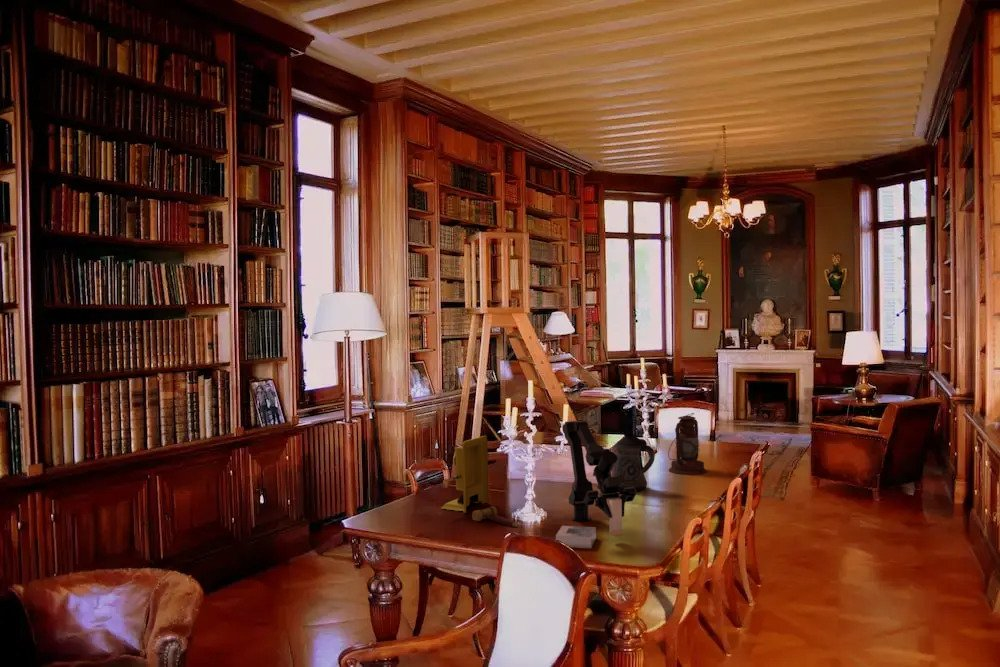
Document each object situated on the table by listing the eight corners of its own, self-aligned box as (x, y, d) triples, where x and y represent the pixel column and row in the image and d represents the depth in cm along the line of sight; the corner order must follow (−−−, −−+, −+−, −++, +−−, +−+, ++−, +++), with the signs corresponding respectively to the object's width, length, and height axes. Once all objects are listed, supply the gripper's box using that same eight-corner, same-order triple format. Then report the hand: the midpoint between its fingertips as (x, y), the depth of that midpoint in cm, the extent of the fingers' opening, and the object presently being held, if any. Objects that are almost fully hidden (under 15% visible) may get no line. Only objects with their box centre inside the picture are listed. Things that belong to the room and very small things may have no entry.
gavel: (526, 517, 305) (507, 522, 298) (525, 529, 305) (507, 534, 298) (490, 505, 320) (471, 509, 313) (490, 515, 320) (471, 520, 314)
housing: (562, 536, 288) (562, 525, 288) (595, 538, 285) (595, 527, 285) (556, 546, 276) (555, 535, 276) (591, 548, 273) (590, 537, 273)
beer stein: (608, 485, 369) (607, 432, 368) (648, 484, 370) (647, 431, 369) (614, 493, 353) (613, 438, 352) (657, 492, 353) (656, 437, 353)
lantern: (684, 465, 411) (683, 409, 410) (714, 471, 396) (713, 412, 396) (661, 471, 399) (660, 412, 398) (691, 476, 384) (690, 416, 384)
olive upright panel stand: (471, 496, 353) (470, 430, 352) (498, 500, 346) (496, 432, 345) (431, 513, 326) (429, 441, 325) (458, 517, 319) (456, 443, 318)
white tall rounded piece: (610, 532, 281) (609, 497, 281) (622, 532, 280) (622, 498, 280) (608, 535, 277) (608, 500, 277) (621, 536, 276) (621, 501, 275)
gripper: (586, 469, 279) (598, 507, 269) (634, 465, 284) (648, 502, 274) (578, 486, 287) (590, 523, 277) (625, 482, 292) (638, 519, 282)
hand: (617, 516), depth 277 cm, fingers closed on white tall rounded piece, 4 cm apart
